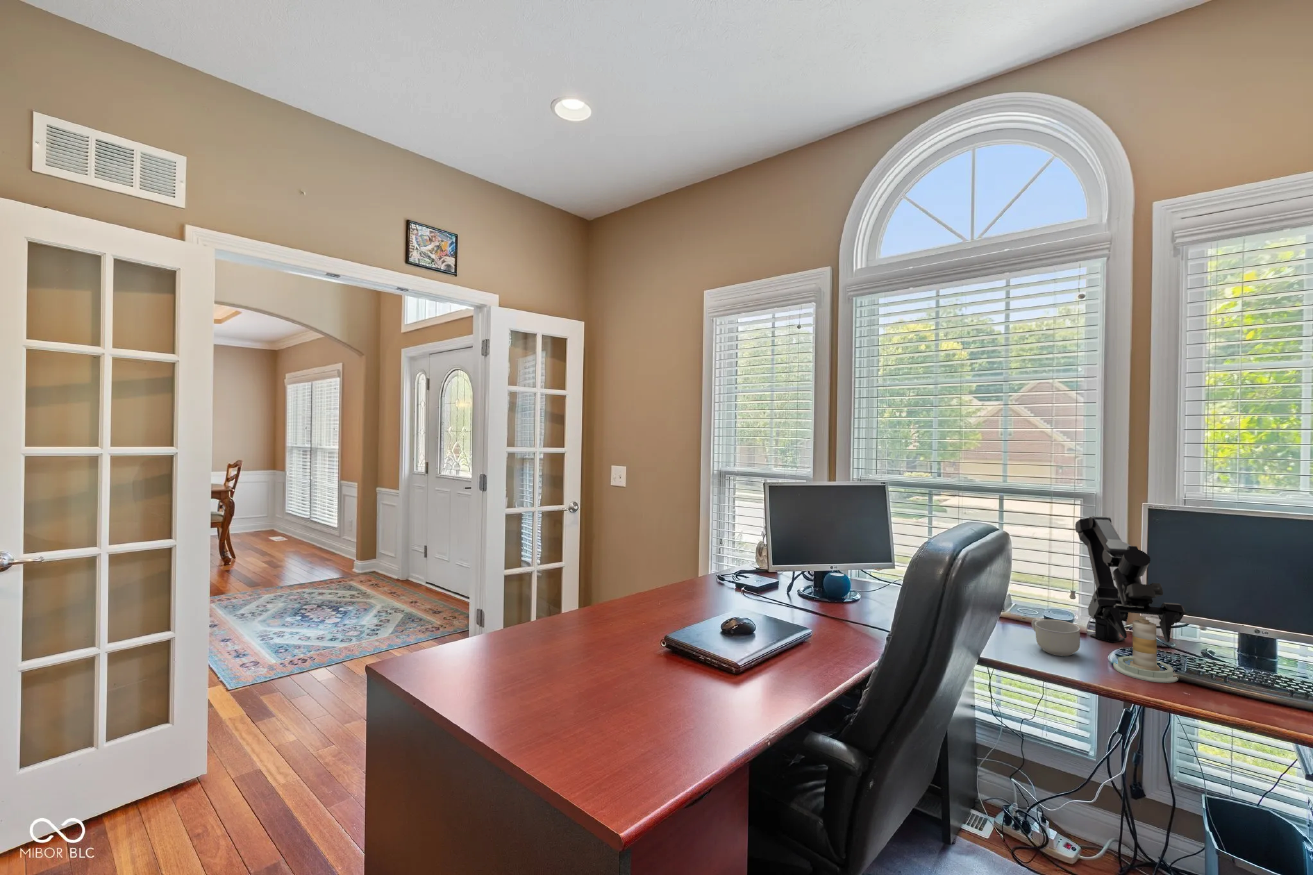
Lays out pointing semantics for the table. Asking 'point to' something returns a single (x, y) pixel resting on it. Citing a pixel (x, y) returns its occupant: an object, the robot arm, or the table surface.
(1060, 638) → the teacup
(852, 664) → the table surface
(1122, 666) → the ring dish
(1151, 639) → the bead column
